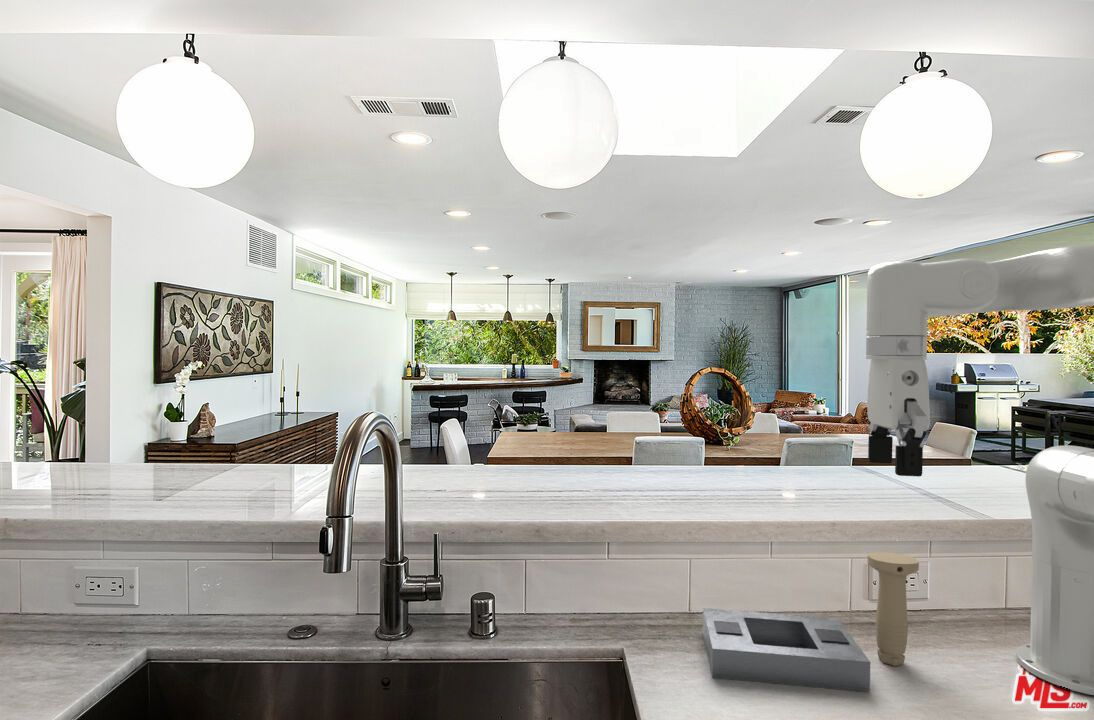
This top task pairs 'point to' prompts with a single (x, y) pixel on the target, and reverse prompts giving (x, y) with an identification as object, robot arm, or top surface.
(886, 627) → the handle
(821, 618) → the block
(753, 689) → the top surface
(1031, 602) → the robot arm
